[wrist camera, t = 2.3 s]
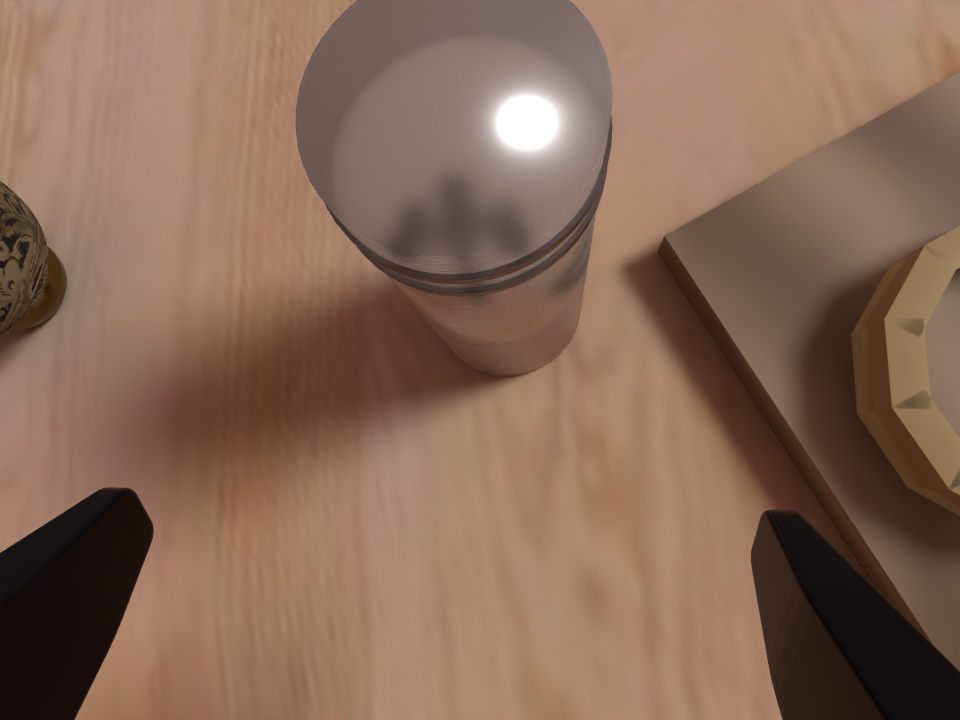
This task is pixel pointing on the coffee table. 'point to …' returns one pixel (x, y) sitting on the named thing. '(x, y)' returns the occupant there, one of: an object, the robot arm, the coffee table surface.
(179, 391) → the coffee table surface
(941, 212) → the ring seat
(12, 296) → the cup
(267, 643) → the coffee table surface
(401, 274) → the silver metal cylinder
